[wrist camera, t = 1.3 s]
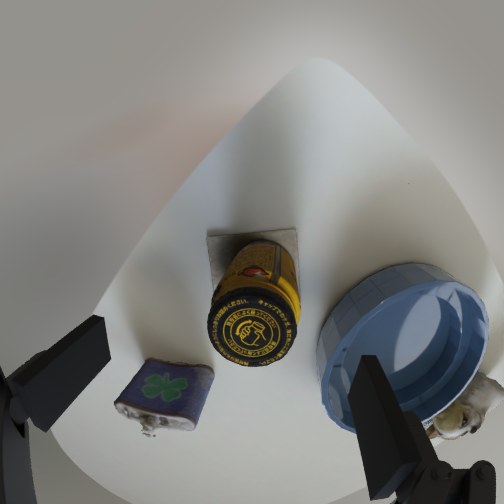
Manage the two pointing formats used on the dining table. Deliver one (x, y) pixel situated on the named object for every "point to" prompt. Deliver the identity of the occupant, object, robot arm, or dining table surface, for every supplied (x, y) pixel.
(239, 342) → the condiment
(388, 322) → the basin
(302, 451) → the dining table surface
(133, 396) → the flask
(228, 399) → the dining table surface
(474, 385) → the ceramic sculpture
